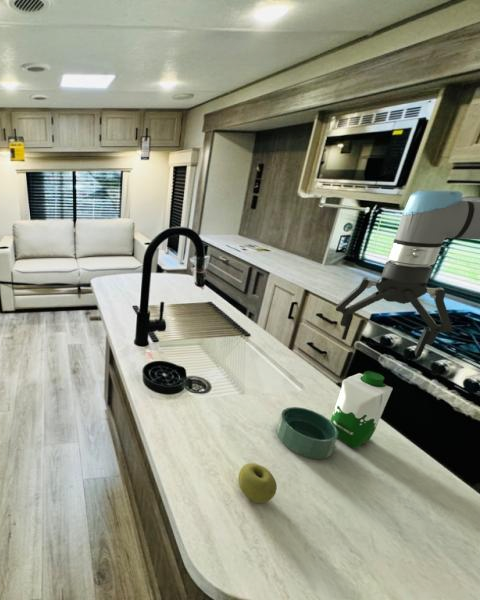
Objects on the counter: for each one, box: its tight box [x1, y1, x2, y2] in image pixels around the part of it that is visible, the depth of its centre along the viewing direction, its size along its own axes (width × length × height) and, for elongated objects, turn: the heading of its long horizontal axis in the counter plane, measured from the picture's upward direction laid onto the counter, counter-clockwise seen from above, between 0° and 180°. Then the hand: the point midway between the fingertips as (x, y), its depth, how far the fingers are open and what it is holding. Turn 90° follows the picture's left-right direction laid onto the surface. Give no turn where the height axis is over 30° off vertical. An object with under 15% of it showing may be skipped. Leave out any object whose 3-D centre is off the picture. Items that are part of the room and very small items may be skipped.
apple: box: [237, 462, 278, 504], centre depth 72 cm, size 8×8×7 cm
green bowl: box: [276, 406, 338, 460], centre depth 87 cm, size 13×13×6 cm
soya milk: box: [330, 370, 393, 449], centre depth 86 cm, size 9×9×20 cm
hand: (378, 345), depth 78 cm, fingers open, 13 cm apart
